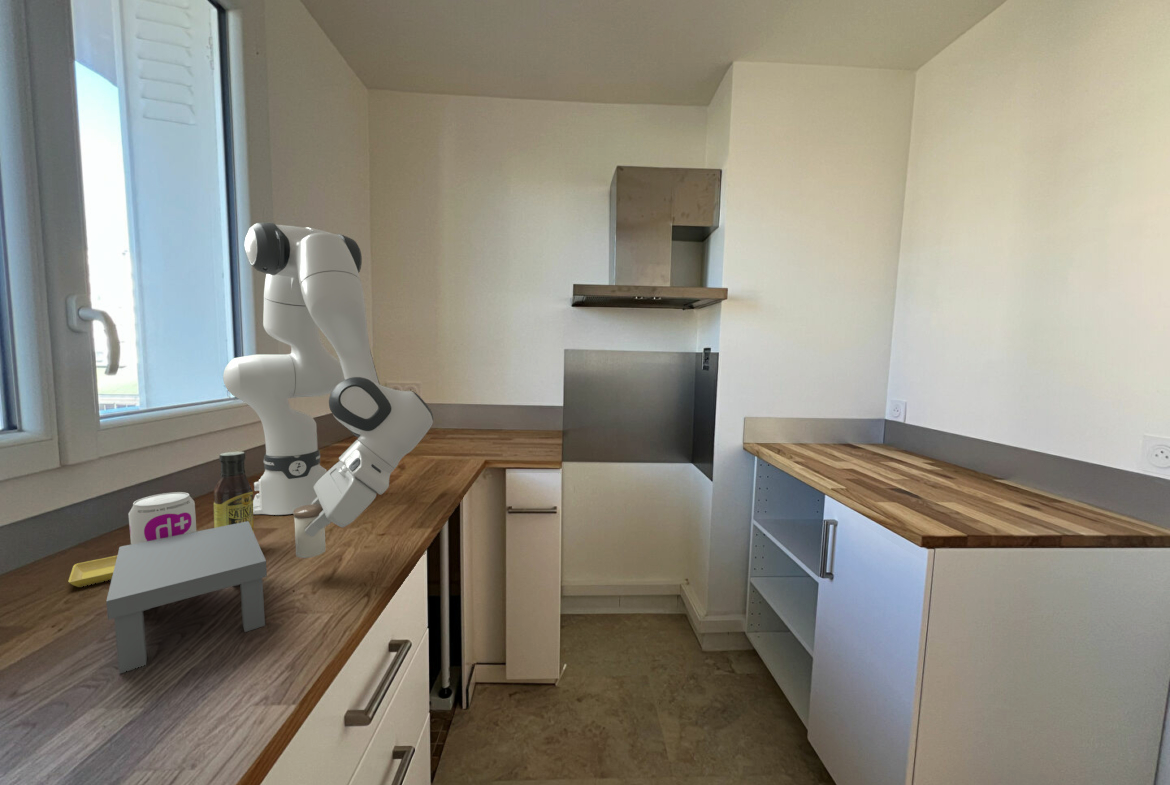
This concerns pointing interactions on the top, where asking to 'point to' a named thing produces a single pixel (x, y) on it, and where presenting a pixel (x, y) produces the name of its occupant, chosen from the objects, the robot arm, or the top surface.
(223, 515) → the sauce bottle
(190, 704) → the top surface
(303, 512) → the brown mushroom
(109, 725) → the top surface
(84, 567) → the yellow shallow tray
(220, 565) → the footstool
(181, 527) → the supplement can
